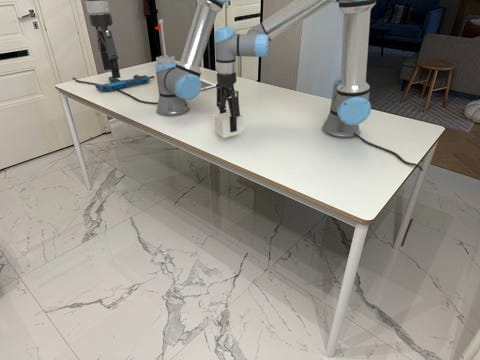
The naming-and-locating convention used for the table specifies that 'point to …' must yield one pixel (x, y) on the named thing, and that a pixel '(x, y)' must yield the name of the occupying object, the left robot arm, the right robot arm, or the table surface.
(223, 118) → the block
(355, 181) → the table surface
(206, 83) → the tablet
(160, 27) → the flag stand
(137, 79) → the submachine gun
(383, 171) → the table surface
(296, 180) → the table surface
